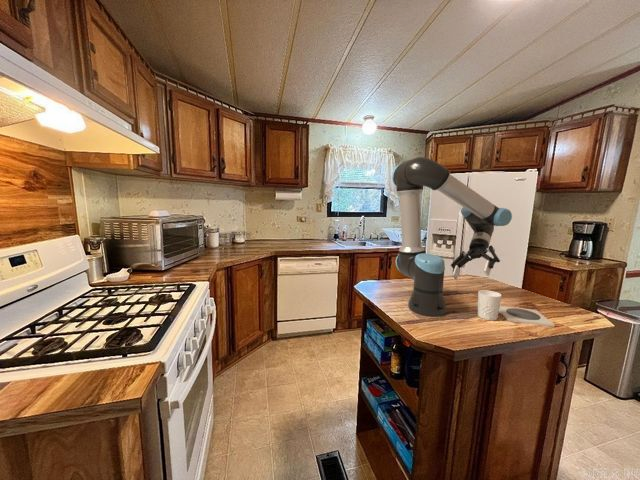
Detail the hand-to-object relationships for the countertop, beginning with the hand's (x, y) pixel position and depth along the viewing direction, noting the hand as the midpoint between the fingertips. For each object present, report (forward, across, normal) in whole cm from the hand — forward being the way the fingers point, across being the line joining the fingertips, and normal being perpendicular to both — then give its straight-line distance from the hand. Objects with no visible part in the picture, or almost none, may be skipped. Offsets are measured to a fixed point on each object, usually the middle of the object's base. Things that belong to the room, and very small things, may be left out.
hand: (469, 275), depth 112 cm
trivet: (+2, -10, -23) cm, 25 cm away
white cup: (+11, -3, -13) cm, 18 cm away
